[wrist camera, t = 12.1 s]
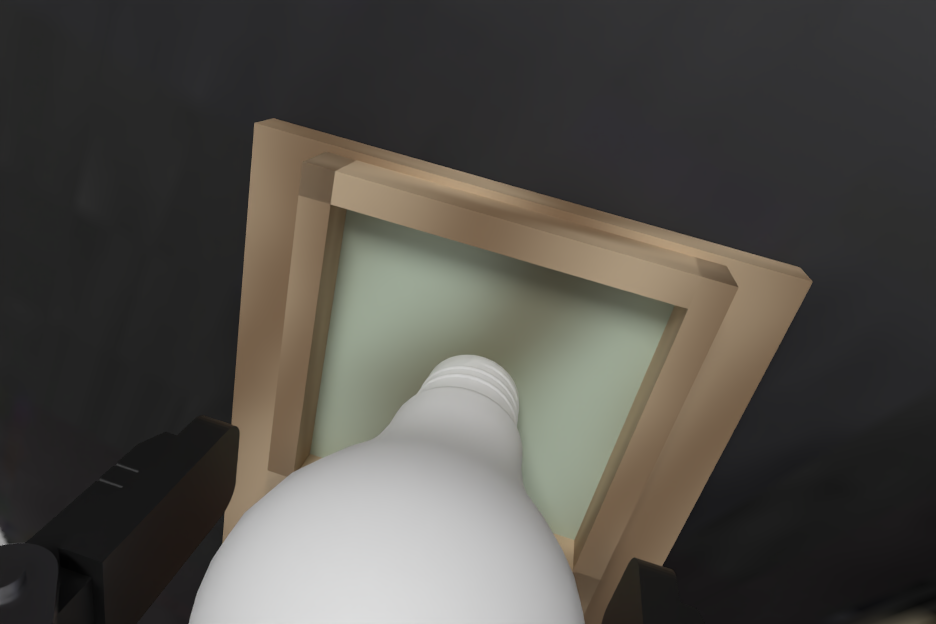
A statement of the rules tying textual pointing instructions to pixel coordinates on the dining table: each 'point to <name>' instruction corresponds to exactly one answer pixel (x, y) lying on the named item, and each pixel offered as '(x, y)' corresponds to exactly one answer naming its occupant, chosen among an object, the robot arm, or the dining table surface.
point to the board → (496, 335)
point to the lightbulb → (403, 525)
